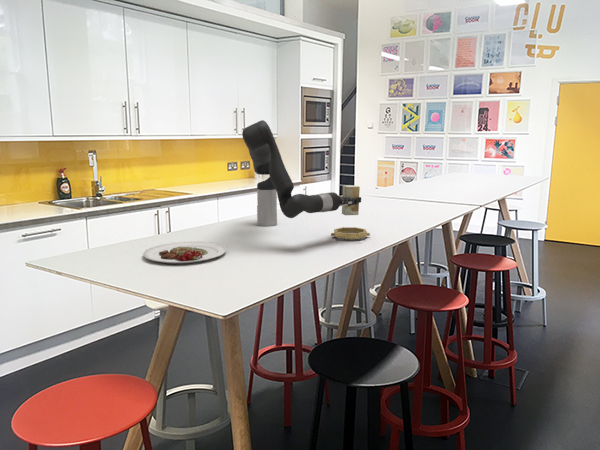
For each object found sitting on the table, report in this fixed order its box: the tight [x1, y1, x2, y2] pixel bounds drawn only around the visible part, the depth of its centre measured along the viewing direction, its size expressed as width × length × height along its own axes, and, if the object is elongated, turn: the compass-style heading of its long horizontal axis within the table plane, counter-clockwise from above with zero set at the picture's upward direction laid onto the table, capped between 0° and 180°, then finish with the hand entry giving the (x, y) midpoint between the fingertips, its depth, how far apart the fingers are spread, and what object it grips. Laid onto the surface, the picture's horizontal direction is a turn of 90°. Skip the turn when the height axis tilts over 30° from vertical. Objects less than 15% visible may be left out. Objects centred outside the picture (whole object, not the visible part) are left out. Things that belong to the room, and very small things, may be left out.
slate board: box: [337, 237, 366, 241], centre depth 215 cm, size 11×11×1 cm
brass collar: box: [330, 226, 371, 239], centre depth 215 cm, size 16×13×2 cm
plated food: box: [142, 241, 227, 264], centre depth 187 cm, size 30×30×3 cm
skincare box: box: [341, 184, 361, 216], centre depth 212 cm, size 6×4×12 cm
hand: (354, 198), depth 213 cm, fingers closed on skincare box, 6 cm apart
